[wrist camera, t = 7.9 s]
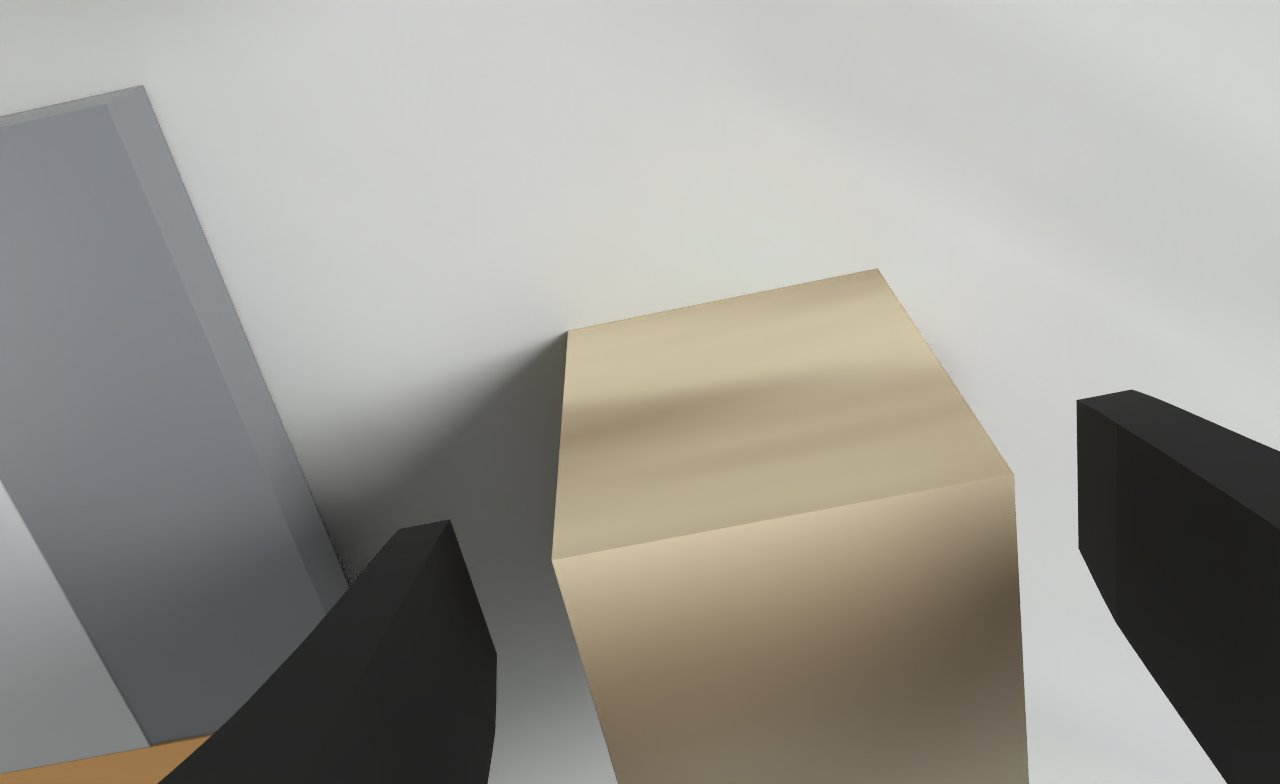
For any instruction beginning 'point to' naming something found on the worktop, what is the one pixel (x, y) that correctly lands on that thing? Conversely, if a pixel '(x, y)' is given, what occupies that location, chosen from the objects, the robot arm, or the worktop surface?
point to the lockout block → (788, 547)
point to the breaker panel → (132, 464)
